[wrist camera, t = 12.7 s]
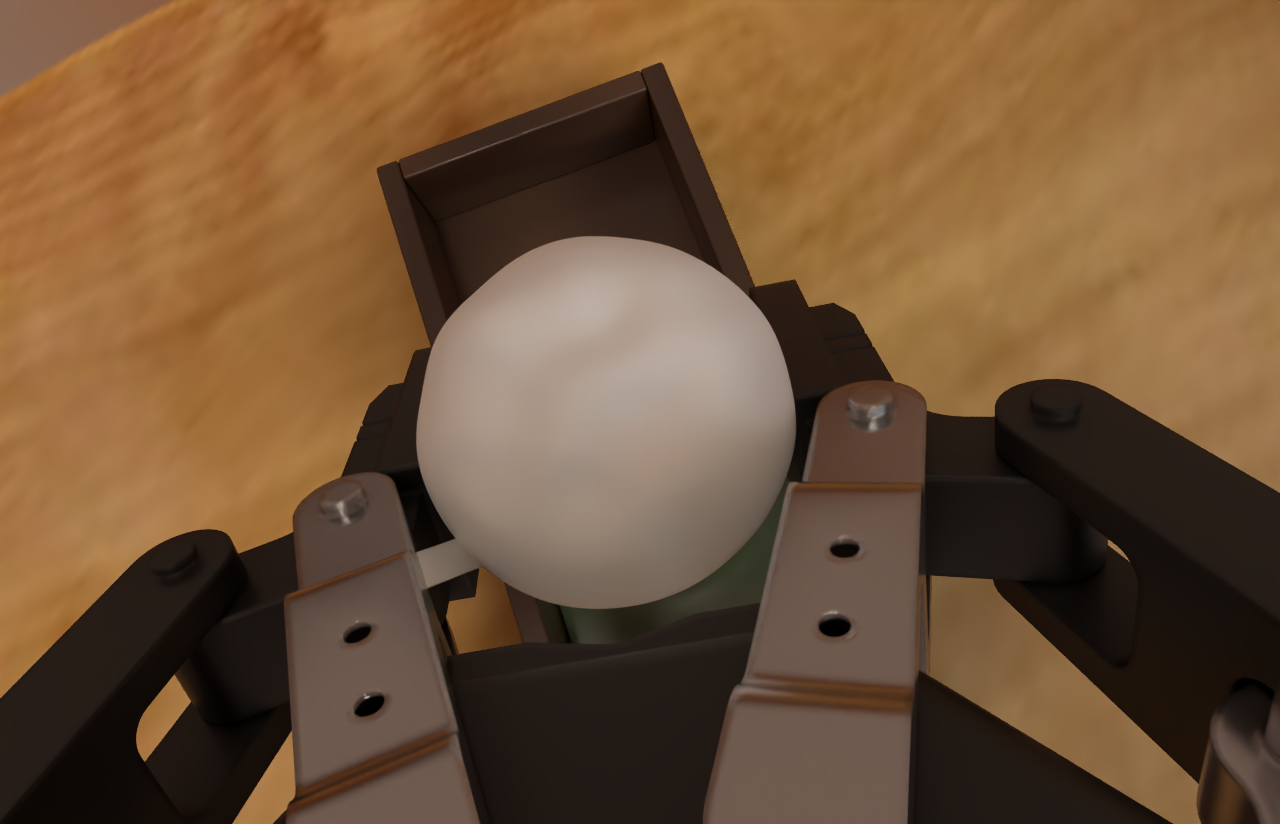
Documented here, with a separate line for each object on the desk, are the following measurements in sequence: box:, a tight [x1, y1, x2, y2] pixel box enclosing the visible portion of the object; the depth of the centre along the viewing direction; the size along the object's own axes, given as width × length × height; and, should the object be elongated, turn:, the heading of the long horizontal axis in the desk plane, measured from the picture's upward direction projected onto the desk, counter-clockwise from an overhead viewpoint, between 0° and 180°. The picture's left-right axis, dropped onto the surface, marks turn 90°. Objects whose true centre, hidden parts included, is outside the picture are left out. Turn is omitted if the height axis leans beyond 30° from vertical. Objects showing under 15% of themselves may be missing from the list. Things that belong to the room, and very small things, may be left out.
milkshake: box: [416, 236, 796, 609], centre depth 14 cm, size 4×5×10 cm
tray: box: [377, 63, 789, 644], centre depth 23 cm, size 8×22×3 cm, turn 20°
